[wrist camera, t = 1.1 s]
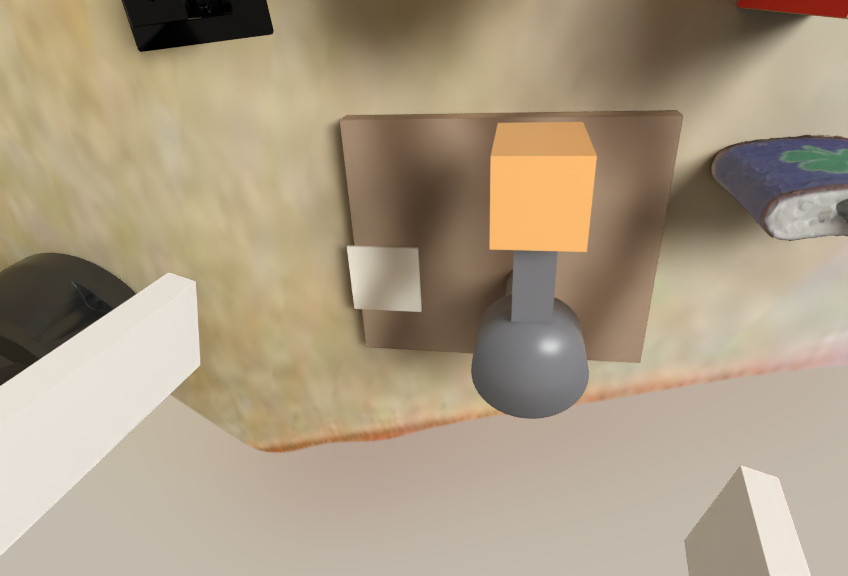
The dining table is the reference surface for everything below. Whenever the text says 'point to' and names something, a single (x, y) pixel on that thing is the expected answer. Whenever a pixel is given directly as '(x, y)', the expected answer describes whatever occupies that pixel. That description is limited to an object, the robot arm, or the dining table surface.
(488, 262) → the post base
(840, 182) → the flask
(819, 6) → the toy box
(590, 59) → the dining table surface
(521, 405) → the grey joystick lever
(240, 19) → the black rounded lump
